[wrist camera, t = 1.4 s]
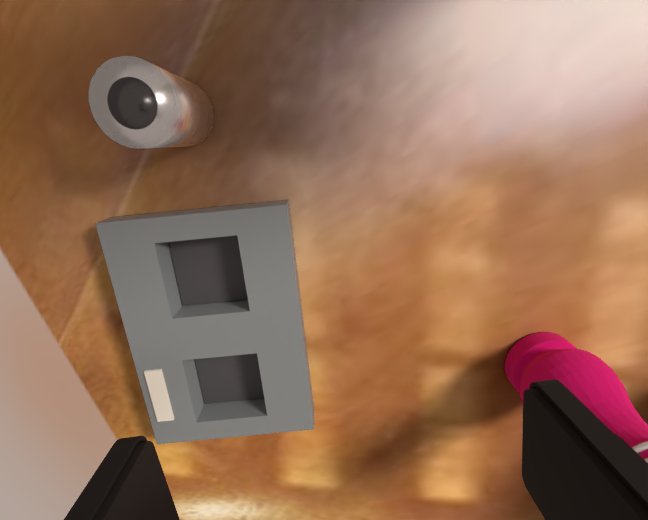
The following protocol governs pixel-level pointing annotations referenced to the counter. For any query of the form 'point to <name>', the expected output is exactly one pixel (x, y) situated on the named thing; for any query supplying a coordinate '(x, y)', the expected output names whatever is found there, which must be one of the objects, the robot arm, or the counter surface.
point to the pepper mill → (578, 383)
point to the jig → (213, 319)
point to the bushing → (148, 105)
